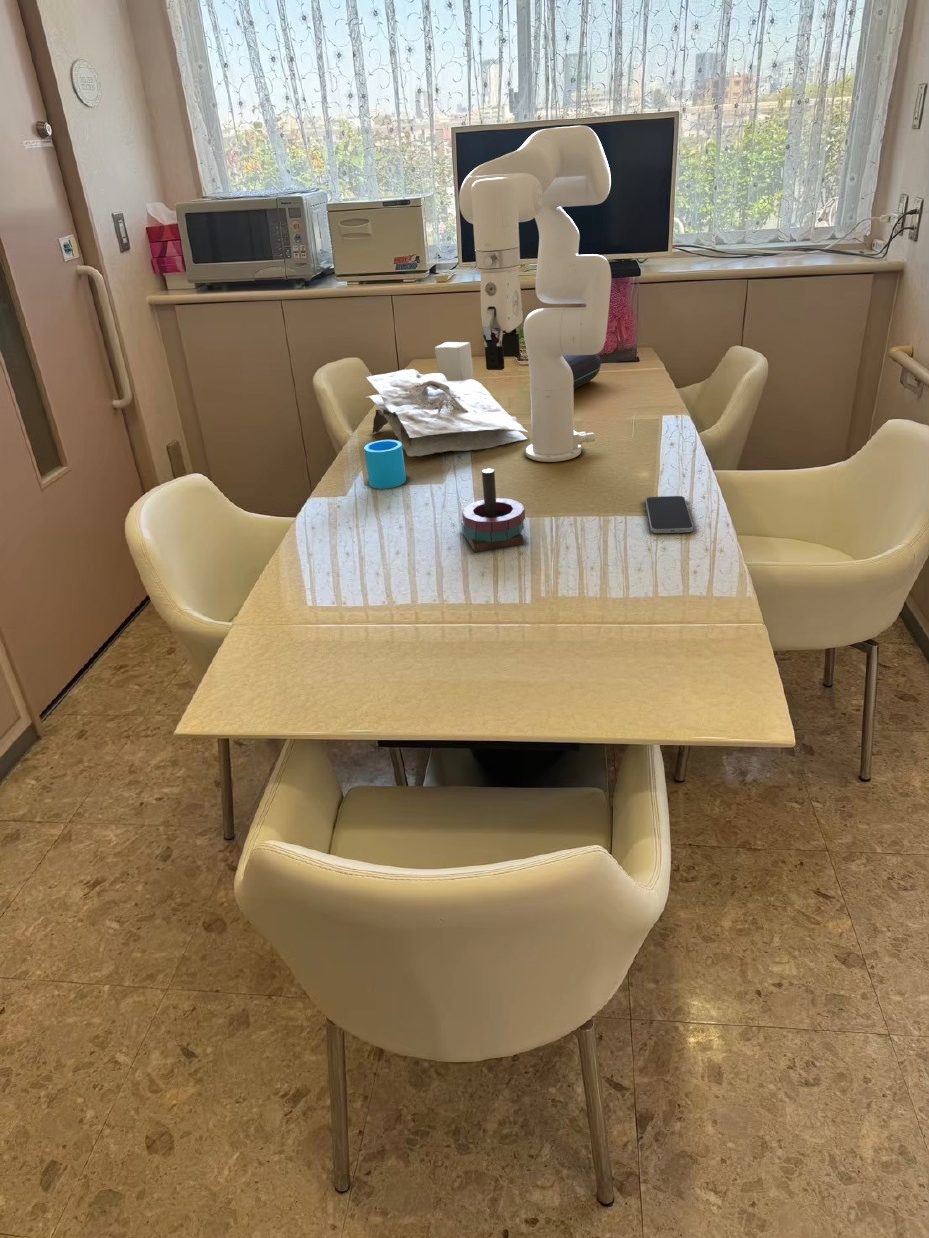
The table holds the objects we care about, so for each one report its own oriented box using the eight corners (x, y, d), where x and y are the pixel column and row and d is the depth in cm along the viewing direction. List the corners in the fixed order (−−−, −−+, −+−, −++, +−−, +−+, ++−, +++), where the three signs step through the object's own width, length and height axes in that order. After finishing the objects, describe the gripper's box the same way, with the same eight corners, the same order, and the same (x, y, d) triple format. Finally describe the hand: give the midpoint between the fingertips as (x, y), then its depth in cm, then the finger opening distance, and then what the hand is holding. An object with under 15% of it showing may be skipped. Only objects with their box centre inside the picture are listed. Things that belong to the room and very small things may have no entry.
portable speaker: (574, 377, 247) (574, 343, 242) (604, 380, 242) (604, 345, 237) (530, 399, 230) (528, 363, 225) (561, 403, 225) (560, 365, 220)
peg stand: (509, 525, 156) (505, 459, 149) (523, 544, 148) (519, 475, 142) (463, 533, 154) (457, 466, 148) (474, 552, 147) (469, 483, 140)
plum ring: (516, 504, 155) (515, 494, 154) (530, 527, 146) (530, 516, 145) (458, 513, 154) (457, 503, 153) (469, 536, 144) (469, 525, 143)
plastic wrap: (535, 410, 195) (409, 421, 183) (525, 472, 204) (405, 485, 193) (476, 357, 220) (362, 364, 209) (471, 414, 229) (361, 423, 218)
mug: (400, 488, 178) (395, 452, 173) (364, 488, 179) (358, 452, 175) (415, 469, 188) (411, 434, 184) (381, 469, 189) (376, 434, 185)
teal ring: (514, 513, 157) (514, 503, 156) (529, 536, 147) (529, 525, 146) (457, 522, 155) (456, 512, 154) (469, 545, 146) (468, 535, 145)
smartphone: (651, 529, 147) (644, 497, 160) (651, 534, 148) (644, 501, 160) (694, 528, 146) (684, 495, 159) (693, 533, 146) (684, 500, 159)
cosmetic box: (476, 398, 236) (472, 342, 228) (463, 404, 231) (459, 347, 224) (451, 396, 240) (447, 340, 232) (439, 402, 236) (433, 346, 228)
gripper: (504, 266, 132) (510, 375, 141) (532, 252, 146) (535, 351, 155) (460, 268, 134) (468, 375, 143) (491, 254, 148) (497, 352, 157)
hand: (503, 362), depth 149 cm, fingers open, 9 cm apart
